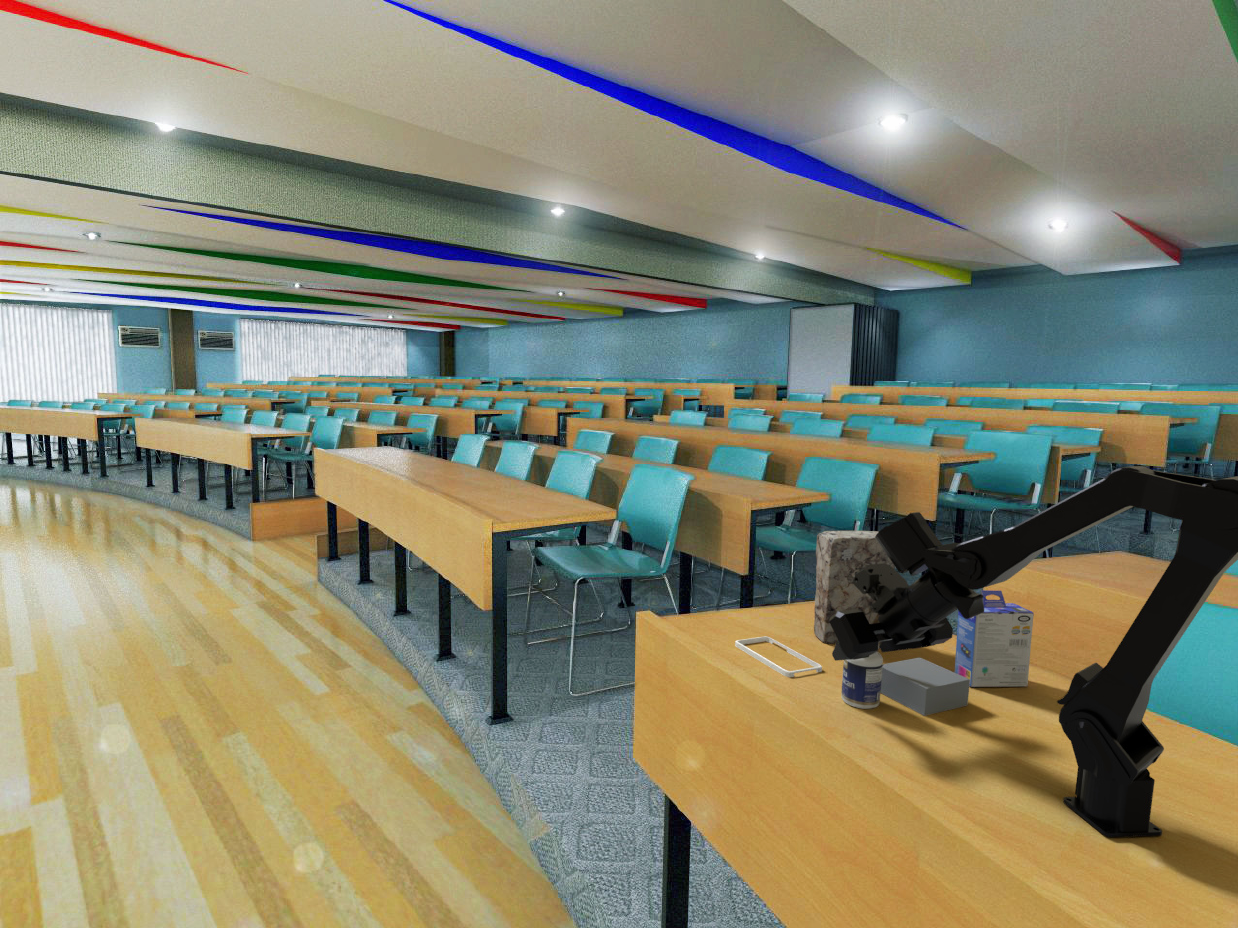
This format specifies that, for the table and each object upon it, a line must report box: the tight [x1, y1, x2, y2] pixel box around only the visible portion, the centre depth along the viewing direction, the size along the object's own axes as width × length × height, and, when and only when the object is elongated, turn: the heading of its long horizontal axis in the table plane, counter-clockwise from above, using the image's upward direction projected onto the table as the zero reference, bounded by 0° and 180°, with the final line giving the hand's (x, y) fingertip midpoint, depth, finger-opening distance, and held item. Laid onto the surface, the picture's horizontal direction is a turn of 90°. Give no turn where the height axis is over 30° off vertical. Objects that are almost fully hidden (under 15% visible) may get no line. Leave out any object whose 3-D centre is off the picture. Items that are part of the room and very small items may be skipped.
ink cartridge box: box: [954, 589, 1035, 688], centre depth 111 cm, size 10×6×14 cm, turn 96°
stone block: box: [813, 530, 896, 645], centre depth 128 cm, size 13×7×20 cm, turn 103°
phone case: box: [734, 635, 823, 678], centre depth 119 cm, size 7×1×15 cm
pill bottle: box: [840, 643, 884, 710], centre depth 102 cm, size 5×5×10 cm
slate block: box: [881, 657, 970, 717], centre depth 105 cm, size 9×9×4 cm
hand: (858, 652), depth 103 cm, fingers open, 9 cm apart
